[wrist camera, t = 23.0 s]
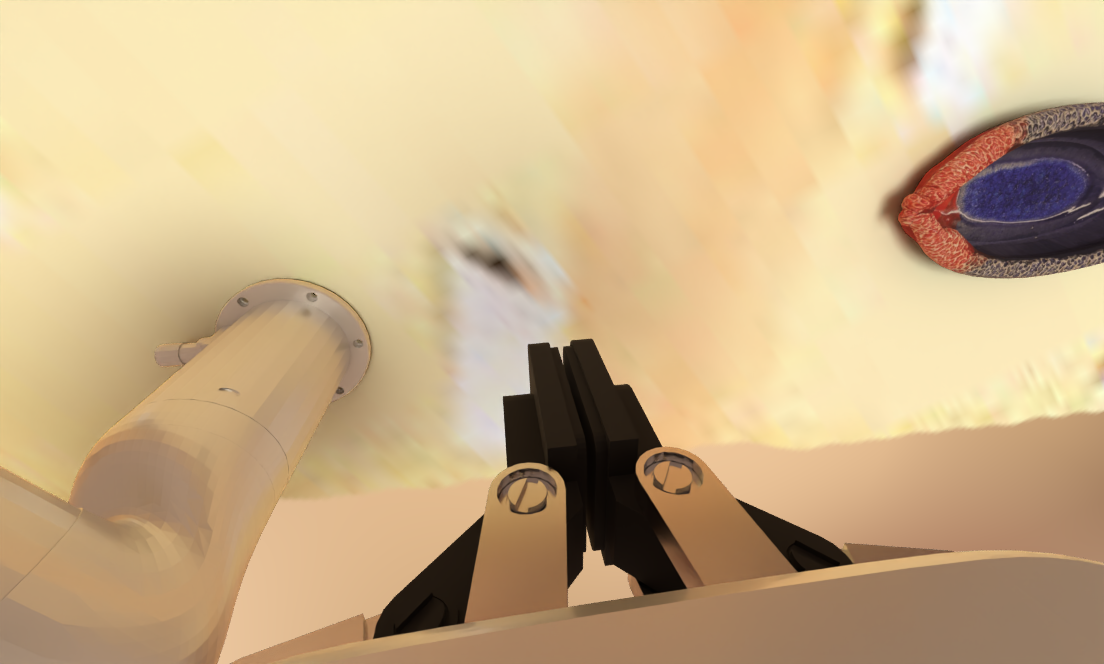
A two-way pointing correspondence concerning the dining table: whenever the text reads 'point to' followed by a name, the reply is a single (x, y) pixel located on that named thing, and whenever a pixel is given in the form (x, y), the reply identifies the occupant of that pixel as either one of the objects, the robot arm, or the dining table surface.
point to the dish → (1016, 198)
